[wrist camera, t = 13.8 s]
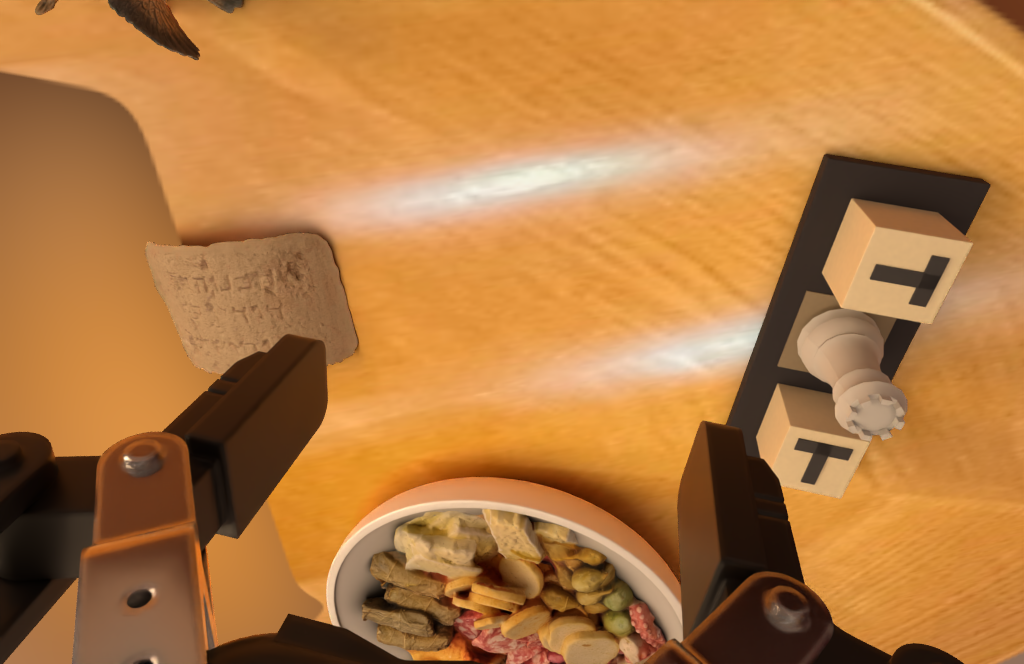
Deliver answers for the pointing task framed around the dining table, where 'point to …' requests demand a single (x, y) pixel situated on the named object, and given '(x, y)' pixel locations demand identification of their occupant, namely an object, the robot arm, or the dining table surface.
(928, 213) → the tile
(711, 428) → the robot arm
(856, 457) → the tile
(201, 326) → the clay tablet
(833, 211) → the word mat
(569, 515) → the bowl
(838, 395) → the rook chess piece
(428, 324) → the dining table surface
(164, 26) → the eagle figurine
